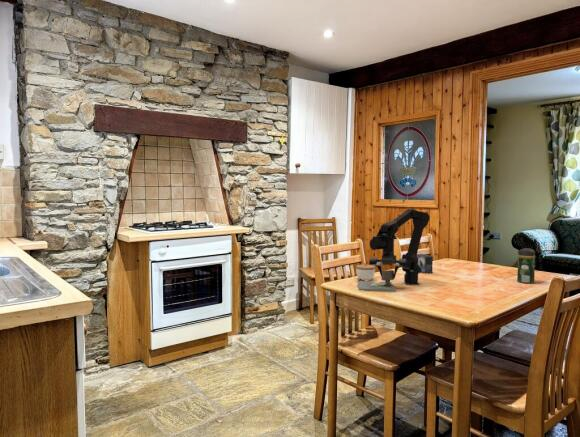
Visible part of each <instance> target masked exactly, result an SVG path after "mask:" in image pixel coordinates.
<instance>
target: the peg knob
mask: <svg viewBox="0 0 580 437" xmlns="http://www.w3.org/2000/svg"><path fill="white" fill-rule="evenodd" d="M381 280H382V282H385V283H381V284H370V286H376V285H386V286H391V285H392V284H393V283H392V284H391V283H390V282H391V281H395V279H394V270H392V269H388V270H387V269H386V270H382V277H381Z"/></svg>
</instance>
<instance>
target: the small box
mask: <svg viewBox="0 0 580 437" xmlns="http://www.w3.org/2000/svg"><path fill="white" fill-rule="evenodd" d="M417 257H418V265H419V266H420V268H421V269H422V270H421V273H420V274H424V273H425V274H424V275H426V273H428V274H433V259H434V256H433V255H429V254H424V253H417Z"/></svg>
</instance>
